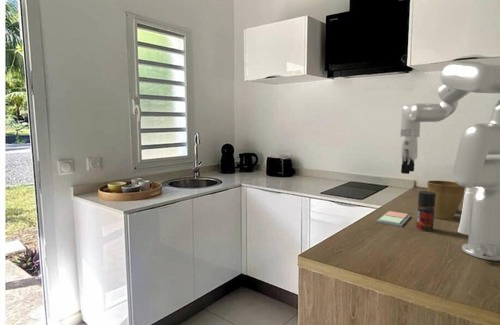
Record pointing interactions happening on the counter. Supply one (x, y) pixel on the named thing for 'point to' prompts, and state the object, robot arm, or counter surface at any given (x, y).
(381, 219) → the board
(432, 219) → the deodorant
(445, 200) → the plant pot
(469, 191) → the cosmetic bottle
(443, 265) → the counter surface
